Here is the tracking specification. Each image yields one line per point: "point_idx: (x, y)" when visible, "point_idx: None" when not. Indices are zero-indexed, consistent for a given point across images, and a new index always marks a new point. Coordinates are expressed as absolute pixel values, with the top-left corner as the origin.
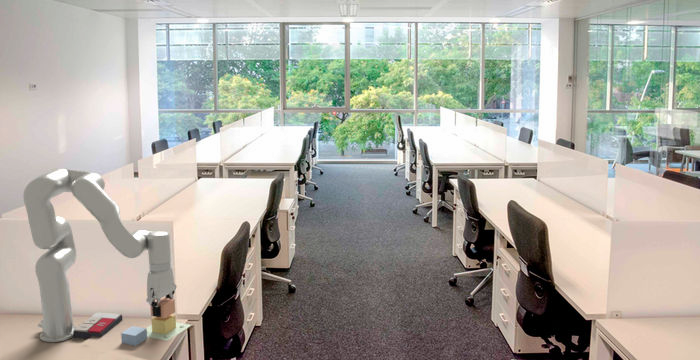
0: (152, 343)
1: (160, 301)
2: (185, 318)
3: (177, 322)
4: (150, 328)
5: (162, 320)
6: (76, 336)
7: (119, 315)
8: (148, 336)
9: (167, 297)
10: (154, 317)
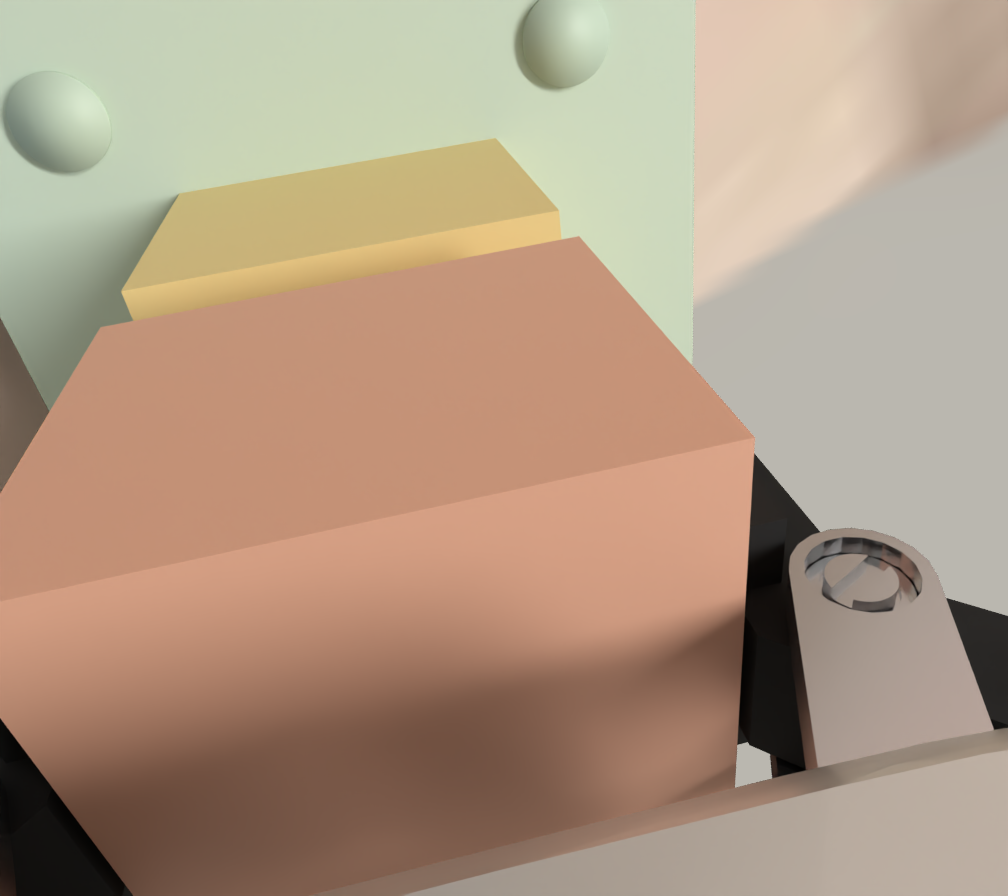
0: (12, 429)
1: (362, 761)
2: (923, 165)
3: (684, 283)
4: (240, 43)
5: None
6: None
7: None
8: (9, 306)
9: (770, 680)
10: (228, 298)
